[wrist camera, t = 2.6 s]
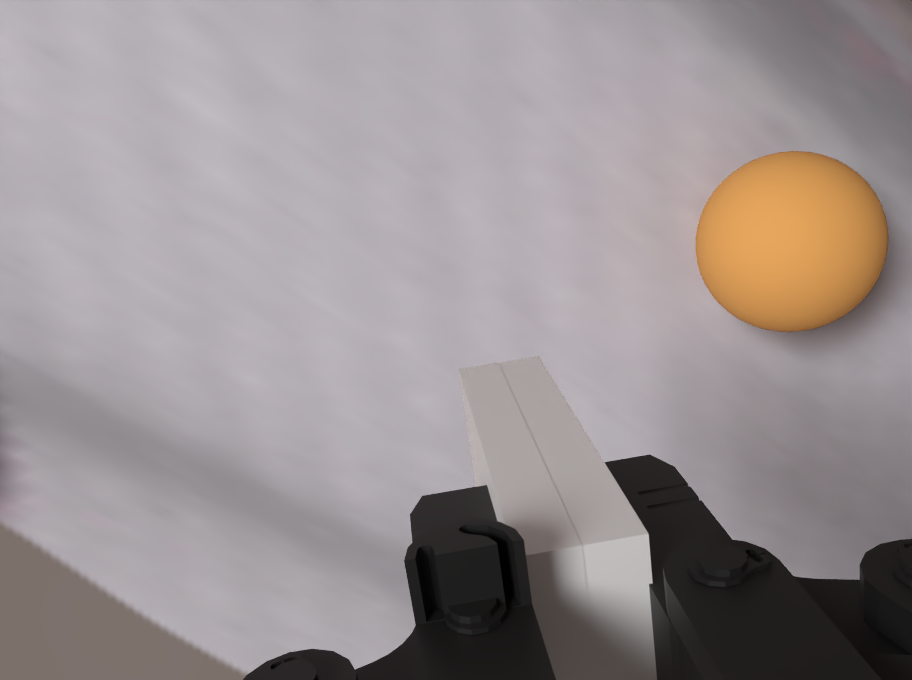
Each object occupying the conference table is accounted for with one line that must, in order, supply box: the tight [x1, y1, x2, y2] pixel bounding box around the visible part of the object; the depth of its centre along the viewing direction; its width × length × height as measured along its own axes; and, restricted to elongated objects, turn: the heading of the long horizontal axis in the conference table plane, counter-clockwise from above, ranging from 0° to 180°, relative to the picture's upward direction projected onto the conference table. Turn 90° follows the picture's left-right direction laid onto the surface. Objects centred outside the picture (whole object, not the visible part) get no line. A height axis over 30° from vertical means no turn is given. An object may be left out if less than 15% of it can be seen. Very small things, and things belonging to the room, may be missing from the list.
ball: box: [696, 151, 888, 332], centre depth 26 cm, size 6×6×6 cm
